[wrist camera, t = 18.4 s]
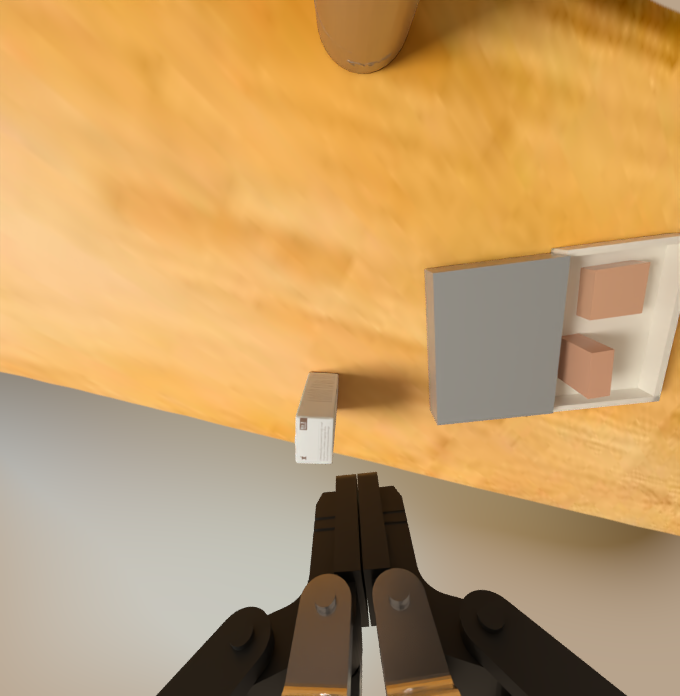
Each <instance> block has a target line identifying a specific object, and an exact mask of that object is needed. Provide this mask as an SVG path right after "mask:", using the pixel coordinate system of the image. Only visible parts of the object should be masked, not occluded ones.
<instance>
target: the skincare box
mask: <svg viewBox="0 0 680 696" xmlns="http://www.w3.org/2000/svg"><path fill="white" fill-rule="evenodd" d="M337 400H338V374H334V373H317V372H309V375H308V378H307V381H306V384H305V388H304V391H303V394H302V397H301V401H300V404H299V407H298V411H297V414H296V436H295V446H296V463H315V464H331V463H332V462H333V447H334V435H335V425H336V413H337Z"/></svg>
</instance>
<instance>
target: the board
mask: <svg viewBox="0 0 680 696" xmlns="http://www.w3.org/2000/svg"><path fill="white" fill-rule="evenodd" d="M570 257H571V256H568V255H560V254H552V253H546V254H538V255H530V256H522V257H514V258H507V259H499V260H491V261H483V262H475V263H467V264H459V265H452V266H444V267H436V268H428V269H425V293H426V320H427V346H428V373H429V400H430V411H431V413H432V415H433V417H434V419H435V421H436V423H437V425H444V424H454V423H463V422H473V421H483V420H492V419H502V418H512V417H521V416H531V415H541V414H550V413H553V410H554V401H555V392H556V383H557V374H558V365H559V356H560V347H561V338H562V329H563V320H564V311H565V302H566V293H567V284H568V275H569V266H570Z"/></svg>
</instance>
